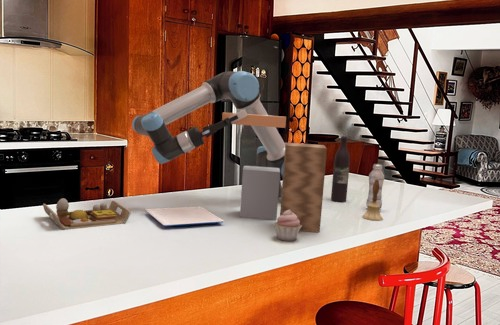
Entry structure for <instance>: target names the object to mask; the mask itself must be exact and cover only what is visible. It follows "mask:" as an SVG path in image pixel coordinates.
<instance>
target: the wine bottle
mask: <svg viewBox="0 0 500 325" xmlns="http://www.w3.org/2000/svg"><path fill="white" fill-rule="evenodd" d="M347 141H348V136H345V135H342V136H341V138H340V146H339V147H338V150H337V151H336V153H335V156H334V160H333V170H332V171H333V172H332V181H331V183H332V184H331V194H330V200H331V201H333V202H336V203H345V202H347V198H348V196H347V195H348V186H349V175H350V166H351V165H350V164H351V156H350V152H349V150H348V147H347V146H348V145H347Z"/></svg>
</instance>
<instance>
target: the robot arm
mask: <svg viewBox="0 0 500 325" xmlns="http://www.w3.org/2000/svg"><path fill="white" fill-rule="evenodd" d="M260 98H261V93H260V84H259V79H258V78H257V77H256V76H255V75H254V74H253V73H251V72H247V71H244V70H238V71H229V70H228V71H223V72H221V73H219V74H217V75H215V76H213V77H211V78H209V79H207V80H206V81H203V82H202V84H201V86H200V87H198V88H195V89H192V90H191V91H189V92H188V93H186V94H183V95H181V96H179V97H177V98H176V99H173V100H171V101H170V102H168V103H166V104H164V105H161V106H160V107H157V108H155V109H153V110H152V111H150V112H148V113H146V114H141V115H137V116H135V117H133V120H132V121H131V127H132V129H133V131H134V132H135V133H137V134H138V135H141V136H146V137H148V138H149V139H150V140H151V142H152V143H153V145H154V146H153V147H152V148H151V153H152V155H153V158H154V159H155V161H156V163H158V164H160V165H163V164H165V163H168V162H171V161H172V160H174V159H176V158H178V157H180V156H182V155H184V154H186V153H189V154H190V153H191V151H192V150H194V149H195V148H199V147H201V146H203V145H205V139H204V137H205V138H209V137H211V136H212V135H213V134H215V133H217V131H219V130H220V129H223V128H225V127H227V126H230V127H232V126H233V124H231V123H234V122H236V121H238V120H240V119H242V118H244V117H246V116H247V114H253V115H269V114H268V113H267V110H266V109H265V107H264V106H263V104H262V102H261V100H260ZM223 100H230V101H231V102H232V104H233V105H234V108H235V109H236V110H238V111H237V112H235V113H236V114H234V115H232V116H230V117H229V118H226V119H224V120H223V121H222V120H221V121H218V122H217V123H212V124H210V125H205V126H204V127H202V130H200V129H199V128H198V127H197V126H193V127H192V128H189V129H188V130H185V131H183V132H181V133H179V134H177V135H176V136H172V134H171V132H170V130H169V128H168V126H167V125H169V124H171V123H172V122H175V121H176V120H179V119H180V118H182V117H184V116H187V114H190V113H192V112H194V111H195V110H198V109H199V108H202V107H203V106H206V105H207V104H209V103H212V104H214V103H217V102H219V101H223ZM251 128H252V130H253V131H254V133H255V135H256V136H257V137H258V139H259V141H260V142H261V144H262V145H261V146H258V148H257V150H256V163H255V166H257V167H272V168H279V169H280V179H279V193H278V198H281V196H282V182H281V178H283V169H284V156H285V143H286V142H284V140H283V138H282V136H281V134H280V133H279V130H278V129H277V127H266V126H251Z"/></svg>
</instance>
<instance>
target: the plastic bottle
mask: <svg viewBox="0 0 500 325" xmlns="http://www.w3.org/2000/svg"><path fill="white" fill-rule="evenodd" d="M382 170H383V164H380V163H374V164H373V166H372V170H371V172H369V174H368V195H367V199H366V202H365V203H366V204H365V205H366V206H365V207H366V208H368V205H369V204H371V203H372V200H373V184H374V182H375V180H376V179H377V180H379V192H378V194H377V201H376V204H377V205H379V209H380V210H381V209H382V205H383V200H382V192H383V191H382V190H383V185H384V182H385V174H384V172H383V171H382Z"/></svg>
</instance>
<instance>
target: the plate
mask: <svg viewBox="0 0 500 325" xmlns="http://www.w3.org/2000/svg"><path fill="white" fill-rule="evenodd" d="M145 212H146V213H148V214H149V215H150V216H151V217H152V218H154V219H155V220H156V221H157V222H158V223H160V224H161V225H162V226H163V227H178V226H192V225H206V224H216V223H217V224H218V223H224V222H225V220H223V219H222V218H220V217H219V216H217V215H215V214H213V212H210V211H209V210H207V209H205V208H203V207H202V206H183V207H181V206H180V207H166V208H165V207H163V208H162V207H160V208H147V209H145Z"/></svg>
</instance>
